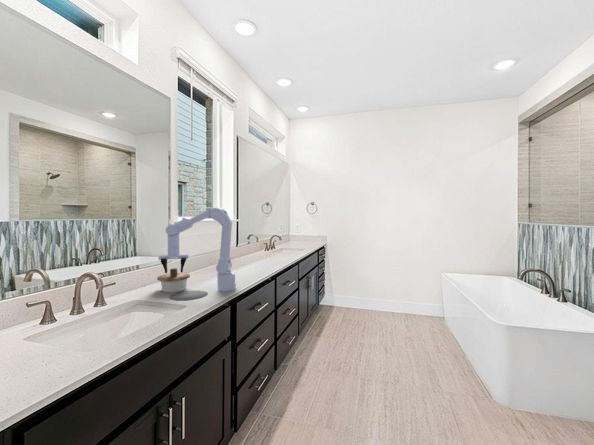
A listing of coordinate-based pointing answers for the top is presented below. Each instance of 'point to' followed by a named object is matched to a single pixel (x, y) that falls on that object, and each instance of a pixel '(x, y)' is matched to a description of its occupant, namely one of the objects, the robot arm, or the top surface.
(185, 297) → the mat
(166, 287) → the ramekin
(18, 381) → the top surface
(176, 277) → the lid
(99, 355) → the top surface
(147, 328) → the top surface
